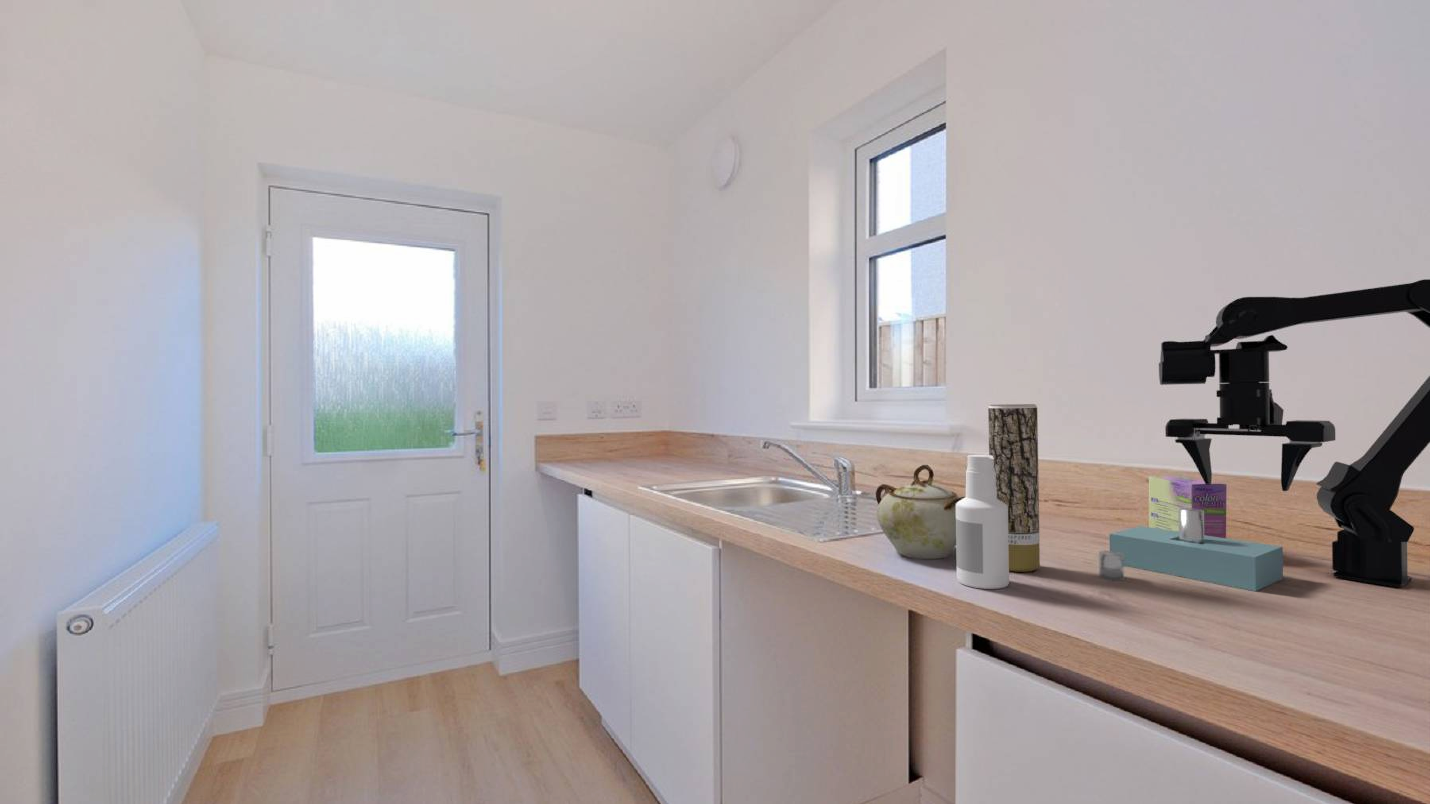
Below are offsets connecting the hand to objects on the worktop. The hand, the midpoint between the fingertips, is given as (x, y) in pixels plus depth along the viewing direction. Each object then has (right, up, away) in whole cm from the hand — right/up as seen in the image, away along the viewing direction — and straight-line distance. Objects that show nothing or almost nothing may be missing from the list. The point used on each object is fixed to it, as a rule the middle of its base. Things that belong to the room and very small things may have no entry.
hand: (1245, 487), depth 94 cm
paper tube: (-33, -13, +2) cm, 36 cm away
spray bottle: (-41, -13, -5) cm, 44 cm away
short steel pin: (-22, -13, -4) cm, 26 cm away
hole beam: (-9, -12, -1) cm, 15 cm away
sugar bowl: (-44, -13, +12) cm, 48 cm away
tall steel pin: (-9, -12, -1) cm, 15 cm away
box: (0, -12, +12) cm, 17 cm away
